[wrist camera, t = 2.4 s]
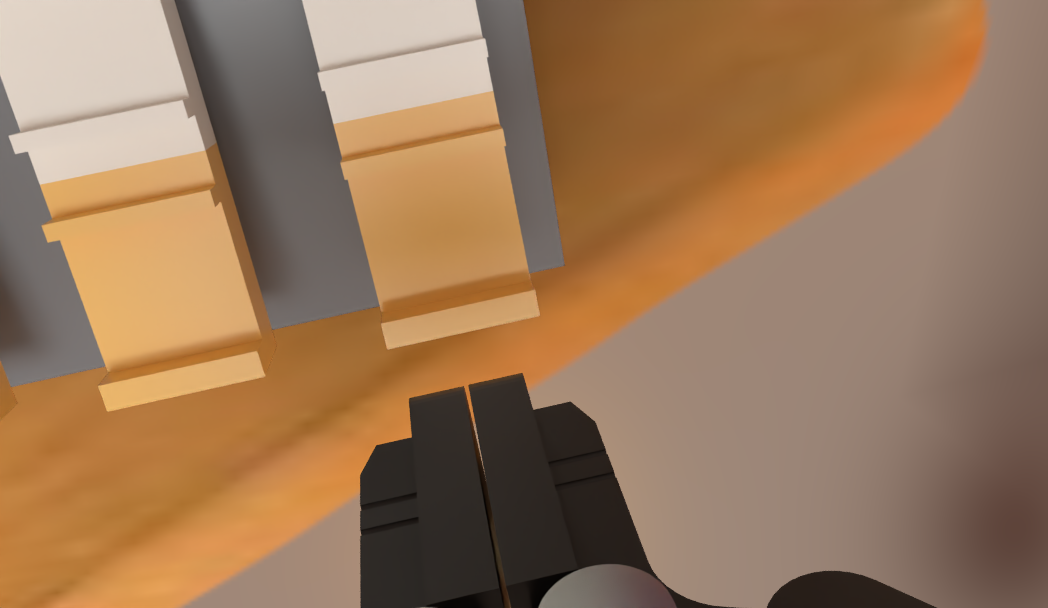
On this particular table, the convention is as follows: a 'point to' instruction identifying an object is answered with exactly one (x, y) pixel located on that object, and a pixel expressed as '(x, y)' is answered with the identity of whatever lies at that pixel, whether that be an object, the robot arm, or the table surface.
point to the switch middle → (135, 193)
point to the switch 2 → (424, 163)
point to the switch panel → (262, 181)
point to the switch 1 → (5, 394)
